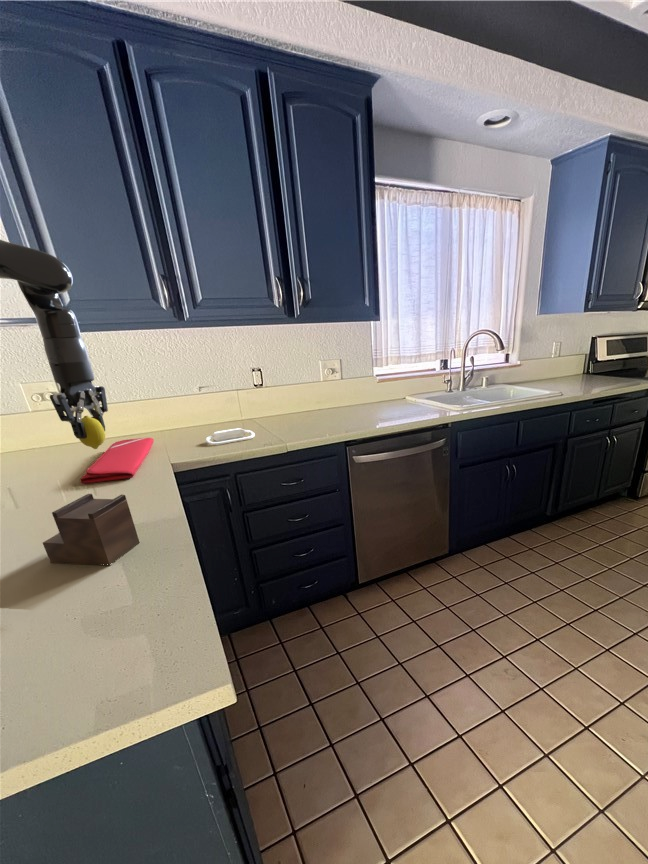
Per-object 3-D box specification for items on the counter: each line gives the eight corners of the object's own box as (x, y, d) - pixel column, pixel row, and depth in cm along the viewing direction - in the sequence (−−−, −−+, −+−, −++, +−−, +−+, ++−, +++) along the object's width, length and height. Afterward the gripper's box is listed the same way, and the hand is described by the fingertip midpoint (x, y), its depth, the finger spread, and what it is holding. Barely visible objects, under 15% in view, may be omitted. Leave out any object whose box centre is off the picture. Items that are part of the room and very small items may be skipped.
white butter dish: (209, 449, 172) (208, 441, 170) (203, 441, 177) (202, 432, 175) (257, 441, 183) (257, 433, 180) (250, 432, 188) (250, 425, 185)
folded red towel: (79, 484, 135) (76, 473, 133) (113, 449, 171) (110, 440, 169) (134, 478, 139) (131, 467, 138) (156, 445, 175) (154, 436, 173)
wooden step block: (50, 562, 92) (29, 511, 87) (85, 540, 101) (67, 492, 96) (110, 565, 90) (91, 513, 85) (139, 542, 99) (125, 494, 94)
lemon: (93, 453, 99) (83, 418, 96) (76, 451, 101) (66, 417, 98) (114, 447, 104) (105, 414, 101) (98, 445, 106) (88, 412, 103)
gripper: (78, 357, 101) (98, 427, 108) (25, 362, 88) (52, 442, 95) (107, 357, 100) (126, 428, 107) (58, 362, 87) (83, 443, 94)
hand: (91, 434), depth 101 cm, fingers closed on lemon, 5 cm apart
